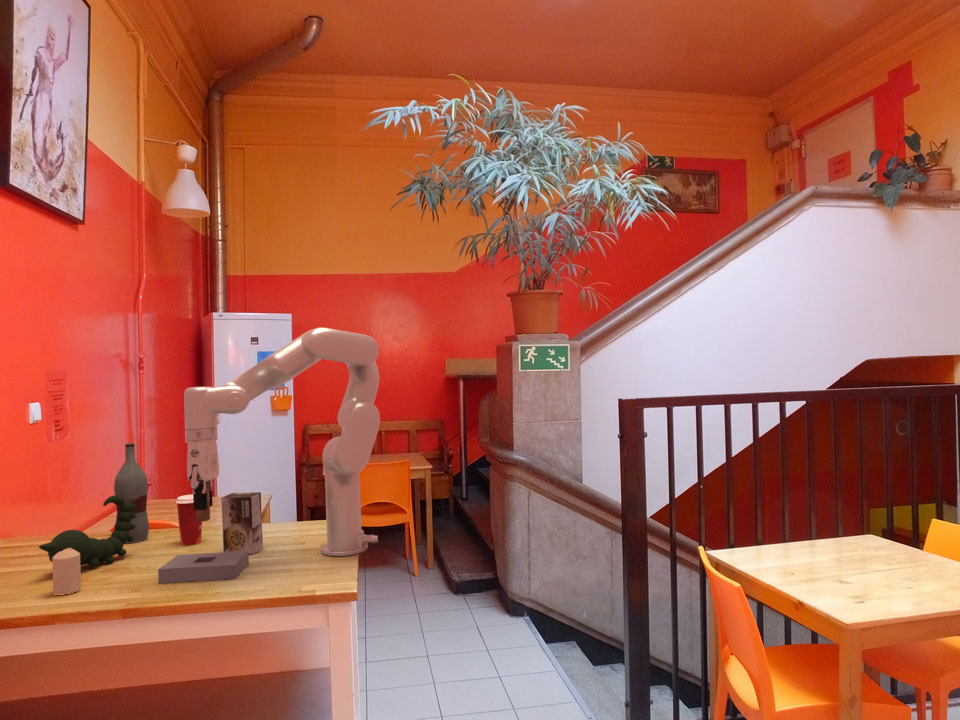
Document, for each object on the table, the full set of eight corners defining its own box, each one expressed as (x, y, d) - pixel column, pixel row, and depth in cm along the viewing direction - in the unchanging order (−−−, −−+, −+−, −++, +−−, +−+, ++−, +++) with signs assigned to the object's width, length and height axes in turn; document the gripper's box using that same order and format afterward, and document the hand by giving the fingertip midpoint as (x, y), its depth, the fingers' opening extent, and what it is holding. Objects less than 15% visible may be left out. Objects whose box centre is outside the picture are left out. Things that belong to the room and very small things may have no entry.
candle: (61, 588, 153) (60, 547, 153) (85, 587, 154) (84, 545, 154) (48, 596, 148) (47, 553, 148) (73, 595, 148) (71, 552, 148)
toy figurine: (117, 559, 182) (25, 579, 160) (121, 492, 184) (30, 502, 162) (140, 562, 179) (48, 583, 156) (144, 494, 180) (53, 504, 158)
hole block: (248, 564, 168) (248, 550, 168) (234, 579, 156) (234, 564, 156) (177, 568, 166) (177, 554, 166) (158, 583, 154) (158, 569, 154)
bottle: (108, 544, 194) (105, 445, 194) (130, 536, 202) (128, 441, 203) (134, 545, 192) (131, 445, 192) (156, 537, 200) (153, 441, 201)
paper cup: (210, 541, 193) (209, 494, 193) (186, 547, 186) (185, 499, 187) (194, 538, 197) (193, 493, 197) (171, 544, 191) (170, 497, 191)
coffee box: (263, 548, 183) (262, 491, 183) (253, 554, 177) (251, 496, 177) (233, 548, 184) (231, 492, 184) (222, 554, 178) (220, 496, 178)
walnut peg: (211, 518, 163) (210, 479, 163) (207, 521, 160) (206, 481, 160) (199, 519, 163) (198, 479, 163) (195, 521, 160) (194, 481, 160)
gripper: (205, 438, 154) (207, 514, 153) (226, 431, 170) (228, 500, 170) (173, 439, 153) (175, 516, 153) (197, 432, 169) (199, 502, 169)
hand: (203, 507), depth 161 cm, fingers closed on walnut peg, 3 cm apart
